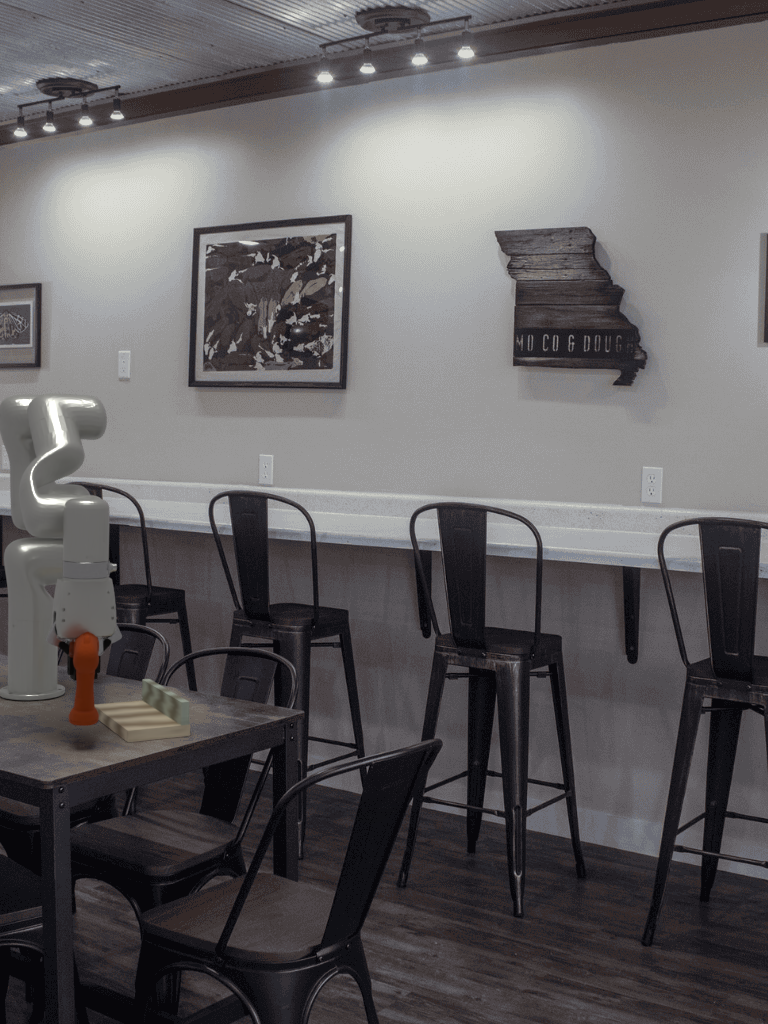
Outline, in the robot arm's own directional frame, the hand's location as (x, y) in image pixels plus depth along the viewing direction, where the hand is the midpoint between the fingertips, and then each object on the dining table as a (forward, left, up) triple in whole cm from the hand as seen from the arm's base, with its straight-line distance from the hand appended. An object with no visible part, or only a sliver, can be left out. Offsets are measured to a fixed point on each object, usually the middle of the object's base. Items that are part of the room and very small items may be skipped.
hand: (83, 677), depth 187 cm
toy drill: (0, 0, -6) cm, 6 cm away
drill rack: (-5, +12, -10) cm, 16 cm away
